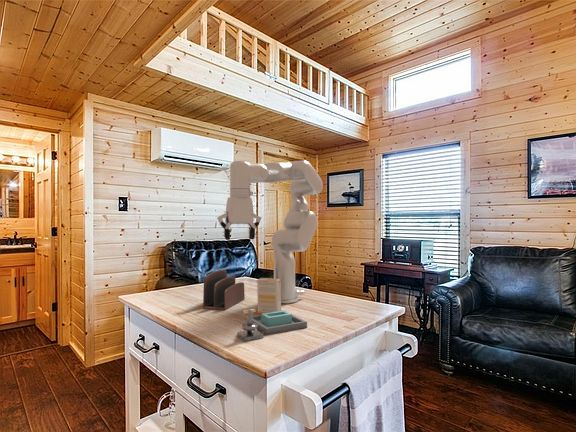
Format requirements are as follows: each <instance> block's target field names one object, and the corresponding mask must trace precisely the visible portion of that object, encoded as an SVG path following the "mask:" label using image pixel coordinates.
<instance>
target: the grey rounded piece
mask: <svg viewBox="0 0 576 432" xmlns="http://www.w3.org/2000/svg"><path fill="white" fill-rule="evenodd" d="M254 313H256V309H255V308H248V309H244V310H242V314H246V322H245V323H242V324H241V329H242V330H241V331H237V332H236V336H237V337H238V338H240V339H241V340H242V341H243V342H249V341H254V340H259V339H264V333H263V332H261V331H260V330H258V324H257V323H253V316H254Z"/></svg>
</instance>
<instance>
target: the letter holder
mask: <svg viewBox="0 0 576 432" xmlns="http://www.w3.org/2000/svg"><path fill="white" fill-rule="evenodd" d="M245 294H246V293H245V283H244V282H236V276H228V271H227V270H226V269H219V270H216V271H213V272H210V273H209V274H207V275H205V276H204V278H203V299H202V304H203V305H202V309H203V310H213V311H217V310H218V311H226V310H229V309H230V308H232V307H234V306H235V305H237V304H239V303H241V302H243V301H244V300H245V299H246V298H245Z"/></svg>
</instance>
